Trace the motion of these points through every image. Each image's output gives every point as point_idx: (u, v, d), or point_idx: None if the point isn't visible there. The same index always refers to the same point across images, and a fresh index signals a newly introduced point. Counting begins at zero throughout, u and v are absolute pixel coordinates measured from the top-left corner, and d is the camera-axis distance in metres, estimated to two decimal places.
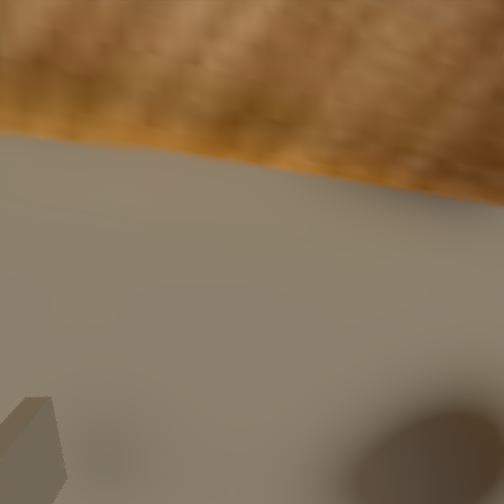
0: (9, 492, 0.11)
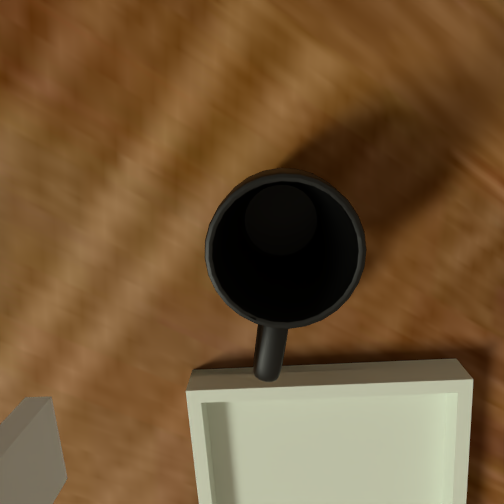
0: (9, 492, 0.11)
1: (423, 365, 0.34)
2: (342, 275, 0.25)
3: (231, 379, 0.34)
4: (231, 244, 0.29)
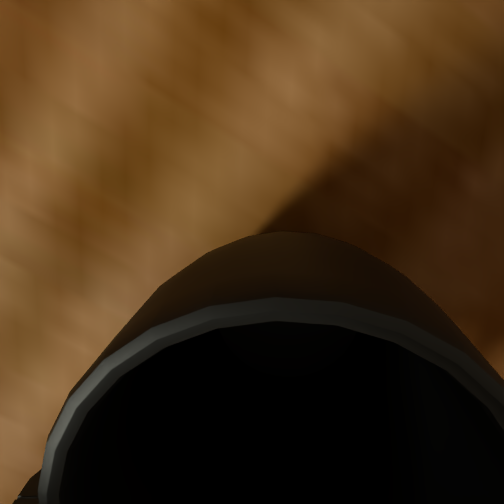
0: None
1: None
2: None
3: None
4: (175, 385, 0.13)
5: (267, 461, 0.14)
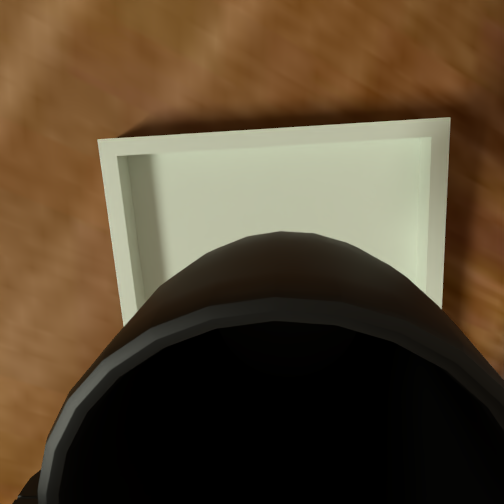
0: None
1: None
2: None
3: None
4: (175, 386, 0.13)
5: (267, 461, 0.14)
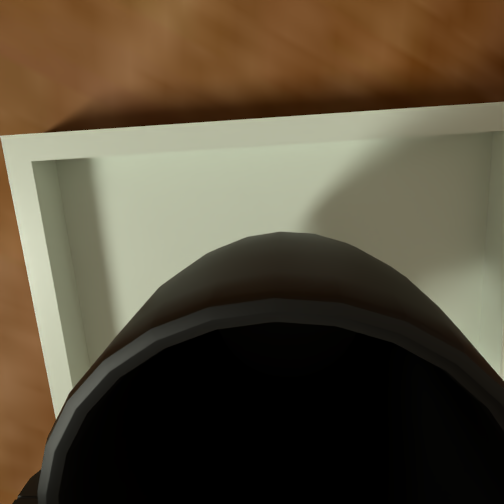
0: None
1: None
2: None
3: None
4: (175, 386, 0.13)
5: (267, 462, 0.14)
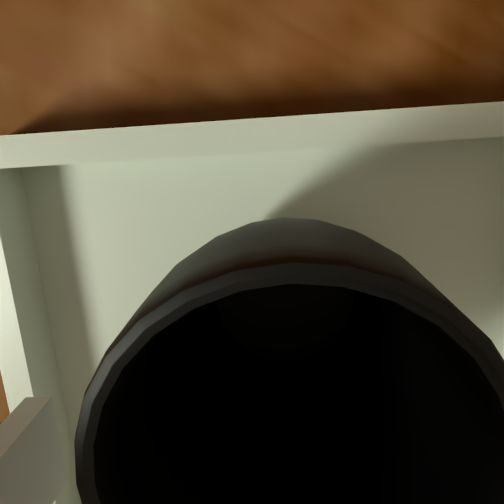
0: (9, 492, 0.11)
1: None
2: (439, 494, 0.10)
3: None
4: (182, 364, 0.14)
5: (268, 435, 0.14)
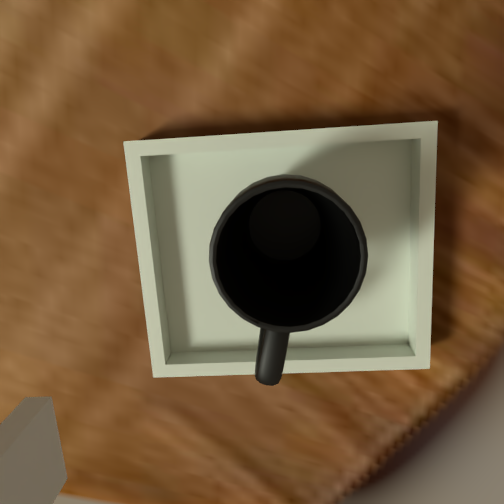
0: (9, 492, 0.11)
1: None
2: (344, 281, 0.25)
3: None
4: (235, 248, 0.29)
5: (276, 285, 0.30)
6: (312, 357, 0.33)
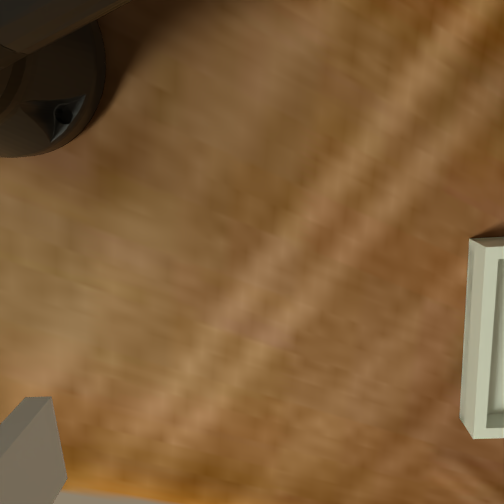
0: (9, 492, 0.11)
1: None
2: None
3: None
4: None
5: None
6: None
